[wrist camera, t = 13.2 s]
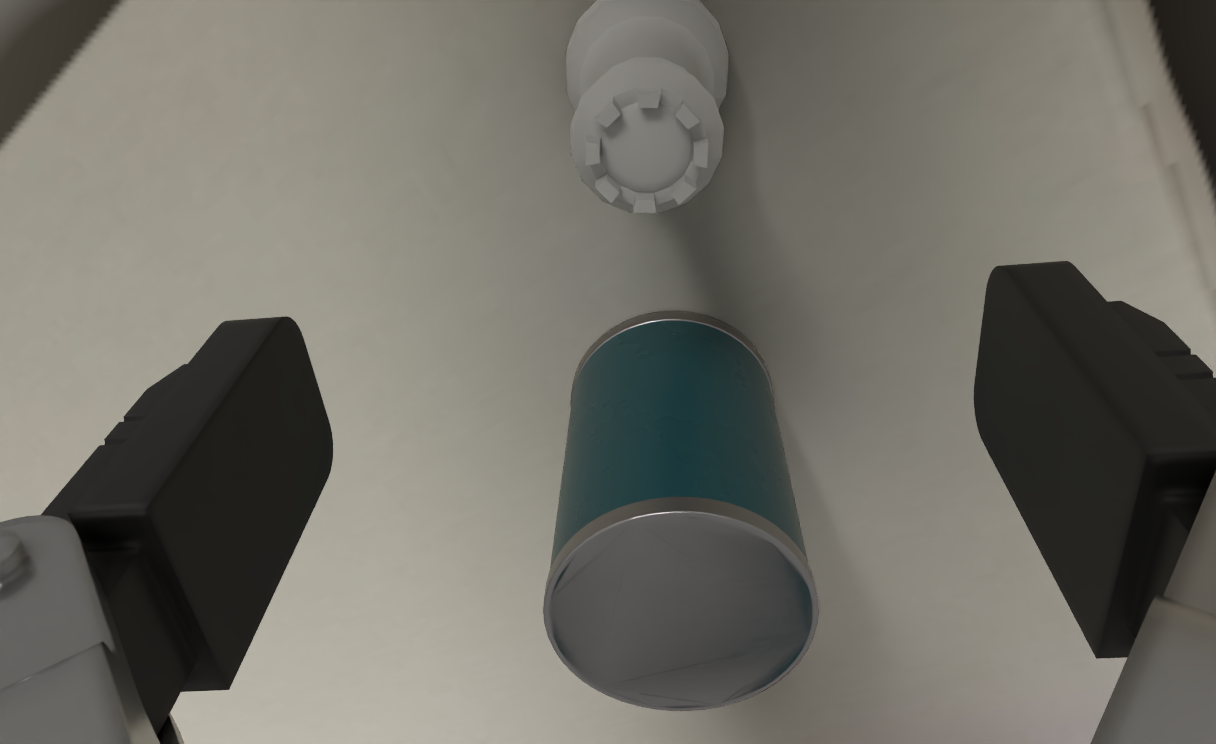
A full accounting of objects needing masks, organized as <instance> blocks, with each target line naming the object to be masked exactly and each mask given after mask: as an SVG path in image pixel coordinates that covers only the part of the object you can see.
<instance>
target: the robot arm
mask: <svg viewBox="0 0 1216 744" xmlns="http://www.w3.org/2000/svg"><path fill="white" fill-rule="evenodd" d="M1190 350H1191V349H1190V348H1189V347H1188V346H1187V345H1186V344H1185V343H1184V342H1183V341H1182V340H1181V339H1180V338H1179V337H1178V336H1177V335H1176V334H1175V333H1174V332H1173V331H1172V330H1171V329H1170V328H1169V327H1168V326H1167V325H1166V324H1165V323H1164V322H1162V321H1160V320H1158V319H1156V318H1154V317H1152V316H1150V315H1148V314H1146V313H1144V312H1142V311H1140V310H1138V309H1136V308H1134V307H1132V306H1130V305H1128V304H1126V303H1125V302H1123V301H1112V302H1107V301H1106V300H1105V299H1104V298H1103V297H1102V295H1101V294H1100V293H1099V292H1098V291H1097V290H1096V289H1095V288H1094V287H1093V286H1092V285H1091V283H1090V282H1089V281H1088V280H1087V279H1086V278H1085V277H1084V276H1083V275H1082V274H1081V273H1080V271H1079V270H1078V269H1077V268H1076V267H1075V266H1074V265H1073V264H1072V263H1070V262H1068V261H1060V262H1046V263H1032V264H1018V265H1005V266H997V267H995V268H994V269H993V270H992V272H991V274H990V277H989V279H988V283H987V288H986V296H985V304H984V312H983V320H982V328H981V336H980V344H979V352H978V360H977V368H976V376H975V384H974V408H975V416H976V422H977V426H978V430H979V433H980V436H981V439H982V441H983V443H984V445H985V447H986V449H987V451H988V453H989V455H990V456H991V458H992V460H993V462H994V464H995V466H996V468H997V470H998V472H999V474H1000V476H1001V477H1002V479H1003V481H1004V483H1005V485H1006V487H1007V489H1008V491H1009V493H1010V495H1011V496H1012V498H1013V500H1014V502H1015V504H1016V506H1017V508H1018V510H1019V512H1020V514H1021V516H1022V517H1023V519H1024V521H1025V523H1026V525H1027V527H1028V529H1029V531H1030V533H1031V535H1032V537H1033V538H1034V540H1035V542H1036V544H1037V546H1038V548H1039V550H1040V552H1041V554H1042V556H1043V558H1044V559H1045V561H1046V563H1047V565H1048V567H1049V569H1050V571H1051V573H1052V575H1053V577H1054V579H1055V580H1056V582H1057V584H1058V586H1059V588H1060V590H1061V592H1062V594H1063V596H1064V598H1065V600H1066V601H1067V603H1068V605H1069V607H1070V609H1071V611H1072V613H1073V615H1074V617H1075V619H1076V621H1077V622H1078V624H1079V626H1080V628H1081V630H1082V632H1083V634H1084V636H1085V638H1086V640H1087V642H1088V643H1089V645H1090V647H1091V649H1092V651H1093V653H1094V655H1095V657H1096V658H1120V657H1128V658H1127V660H1126V663H1125V665H1124V667H1123V670H1122V672H1121V674H1120V677H1119V679H1118V681H1117V684H1116V686H1115V688H1114V691H1113V693H1112V695H1111V698H1110V700H1109V702H1108V705H1107V707H1106V709H1105V712H1104V714H1103V716H1102V718H1101V721H1100V723H1099V725H1098V728H1097V730H1096V732H1095V735H1094V737H1093V739H1092V742H1091V744H1216V378H1213V371H1212V370H1211V369H1210V368H1209V367H1208V366H1207V365H1206V364H1205V363H1204V362H1203V361H1202V360H1201V359H1200V358H1199V357H1198V356H1197V355H1191V353H1190ZM104 440H105V445H100V446H99V447H98V448H97V449H96V450H95V451H94V452H93V454H92V455H91V456H90V457H89V458H88V460H87V461H86V462H85V463H84V464H83V465H82V467H81V468H80V469H79V470H78V471H77V473H76V474H75V475H74V476H73V477H72V478H71V480H70V481H69V482H68V483H67V484H66V486H65V487H64V488H63V489H62V490H61V492H60V493H59V494H58V495H57V496H56V497H55V499H54V500H53V501H52V502H51V503H50V505H49V506H48V507H47V508H46V509H45V510H44V512H43V513H42V514H41V515H37V516H26V517H20V518H15V519H11V520H7V521H3V522H0V744H184V741H183V739H182V736H181V733H180V731H179V729H178V727H177V725H176V723H175V721H174V719H173V717H172V715H171V713H170V711H171V709H172V708H173V706H174V704H175V702H176V700H177V698H178V696H179V694H180V692H185V691H210V690H229V689H230V686H231V684H232V682H233V680H234V678H235V676H236V674H237V671H238V669H239V667H240V665H241V663H242V661H243V659H244V656H245V654H246V652H247V650H248V648H249V646H250V644H251V642H252V639H253V637H254V635H255V633H256V631H257V629H258V627H259V624H260V622H261V620H262V618H263V616H264V614H265V612H266V609H267V607H268V605H269V603H270V601H271V599H272V597H273V595H274V592H275V590H276V588H277V586H278V584H279V582H280V580H281V577H282V575H283V573H284V571H285V569H286V567H287V565H288V562H289V560H290V558H291V556H292V554H293V552H294V550H295V548H296V545H297V543H298V541H299V539H300V537H301V535H302V533H303V530H304V528H305V526H306V524H307V522H308V520H309V518H310V516H311V513H312V511H313V509H314V507H315V505H316V503H317V501H318V498H319V496H320V494H321V492H322V490H323V488H324V486H325V483H326V481H327V479H328V477H329V474H330V471H331V466H332V459H333V439H332V432H331V427H330V423H329V420H328V417H327V413H326V410H325V407H324V404H323V400H322V397H321V394H320V391H319V387H318V384H317V381H316V378H315V374H314V371H313V368H312V365H311V361H310V358H309V355H308V352H307V348H306V345H305V342H304V339H303V336H302V333H301V331H300V329H299V327H298V325H297V324H296V322H295V321H294V320H293V319H291V318H290V317H273V318H260V319H246V320H232V321H225V322H223V323H221V324H220V325H219V326H218V327H217V329H216V330H215V331H214V332H213V334H212V335H211V336H210V337H209V339H208V340H207V341H206V342H205V344H204V345H203V346H202V347H201V348H200V350H199V351H198V352H197V353H196V355H195V356H194V357H193V358H192V360H191V361H190V362H189V363H188V364H184V365H182V366H181V367H179V368H178V369H176V370H175V371H173V372H172V373H170V374H169V375H167V376H166V377H164V378H163V379H161V380H160V381H158V382H157V383H155V384H154V385H153V386H151V387H150V388H148V389H147V390H146V391H145V392H144V393H143V394H142V396H141V397H140V398H139V399H138V400H137V402H136V403H135V404H134V405H133V406H132V408H131V409H130V410H129V411H128V412H127V413H126V415H125V416H124V422H119V423H118V424H117V425H116V426H115V428H114V429H113V430H112V431H111V432H110V434H109V435H108V436H107V437H106V438H105V439H104Z"/></svg>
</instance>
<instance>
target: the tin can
mask: <svg viewBox="0 0 1216 744" xmlns="http://www.w3.org/2000/svg"><path fill="white" fill-rule="evenodd" d="M570 404H571V412H570V419H569V427H568V435H567V443H566V450H565V458H564V466H563V474H562V481H561V489H560V497H559V504H558V512H557V520H556V528H555V535H554V543H553V551H552V558H551V566H550V571H549V575H548V579H547V582H546V589H545V596H544V607H543V614H544V624H545V627H546V631H547V635H548V638H549V640H550V642H551V644H552V646H553V648H554V650H555V652H556V653H557V655H558V656H559V658H560V659H561V661H562V662H563V663H564V664H565V665H566V666H567V667H568V668H569V670H570V671H571V672H573V673H574V674H575V675H576V676H577V677H578V678H580V679H581V680H582V681H583V682H585V683H586V684H588V685H589V686H591V687H592V688H594V689H596V690H598V691H600V692H602V693H604V694H605V695H607V696H610V697H612V698H615V699H617V700H620V701H622V702H626V703H629V704H633V705H636V706H641V707H646V708H651V709H659V710H669V711H691V710H704V709H710V708H716V707H721V706H725V705H729V704H732V703H736V702H739V701H741V700H744V699H747V698H749V697H752V696H754V695H756V694H758V693H760V692H762V691H764V690H766V689H767V688H769V687H771V686H772V685H774V684H775V683H777V682H778V681H779V680H781V679H782V678H783V677H784V676H786V675H787V674H788V673H789V672H790V671H791V670H792V669H793V668H794V667H795V666H796V665H797V664H798V663H799V661H800V660H801V659H802V657H803V656H804V654H805V653H806V652H807V650H808V648H809V646H810V644H811V642H812V640H813V637H814V634H815V631H816V627H817V623H818V614H819V607H818V596H817V592H816V587H815V583H814V579H813V575H812V571H811V569H810V567H809V564H808V560H807V555H806V551H805V546H804V541H803V537H802V532H801V527H800V523H799V518H798V513H797V509H796V504H795V500H794V495H793V490H792V486H791V481H790V476H789V472H788V467H787V462H786V458H785V453H784V448H783V444H782V439H781V434H780V430H779V425H778V420H777V416H776V411H775V406H774V400H773V390H772V385H771V381H770V377H769V373H768V370H767V368H766V365H765V363H764V361H763V359H762V358H761V356H760V354H759V353H758V351H757V350H756V349H755V348H754V346H753V345H752V344H751V343H750V342H749V341H748V340H747V339H746V338H745V337H744V336H743V335H741V334H740V333H739V332H737V331H736V330H734V329H733V328H732V327H730V326H728V325H726V324H724V323H722V322H720V321H718V320H716V319H713V318H710V317H707V316H704V315H700V314H695V313H690V312H681V311H664V312H656V313H650V314H646V315H642V316H638V317H635V318H633V319H630V320H627V321H625V322H623V323H621V324H619V325H617V326H615V327H614V328H612V329H611V330H609V331H608V332H606V333H605V334H604V335H602V336H601V337H600V338H599V339H598V340H597V341H596V342H595V343H594V344H593V345H592V346H591V347H590V349H589V350H588V351H587V352H586V354H585V355H584V357H583V359H582V360H581V362H580V364H579V366H578V368H577V371H576V373H575V377H574V381H573V385H572V392H571V403H570Z"/></svg>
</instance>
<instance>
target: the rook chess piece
mask: <svg viewBox="0 0 1216 744" xmlns="http://www.w3.org/2000/svg"><path fill="white" fill-rule="evenodd" d="M728 57H729V53H728V50H727V47H726V44H725V41H724V38H723V35H722V32H721V29H720V25H719V22H718V21H717V20H716V19H715V18H714V16H713V15H712V14H711V13H710V12H709V11H708V10H707V8H706V7H705V6H704V5H703V4H702V3H701V2H700V0H596V1H595V3H594V4H593V5H592V6H591V7H590V8H589V9H588V10H587V11H586V12H585V13H584V14H583V15H582V16H581V17H580V18H579V19H578V21H577V24H576V26H575V29H574V31H573V34H572V37H571V39H570V42H569V44H568V47H567V49H566V90H567V94H568V96H569V99H570V101H571V103H572V106H573V108H574V110H575V114H574V117H573V119H572V122H571V124H570V137H571V156H572V158H573V161H574V163H575V165H576V168H577V170H578V172H579V175H580V177H581V179H582V181H583V182H584V183H585V184H586V185H587V186H588V187H589V188H590V189H591V190H592V191H593V192H594V193H595V194H596V195H597V196H598V197H599V198H600V199H601V200H602V201H603V202H606V203H608V204H610V205H613V206H615V207H618V208H620V209H622V210H625V211H627V212H630V213H661V212H664V211H666V210H669V209H672V208H675V207H677V206H680V205H683V204H686V203H687V202H688V201H689V200H691V199H692V198H693V197H694V196H695V195H696V194H697V193H699V192H700V191H701V190H702V189H703V188H704V187H705V186H706V185H708V184H709V182H710V180H711V178H712V176H713V174H714V172H715V170H716V168H717V166H718V164H719V162H720V160H721V158H722V148H723V134H724V126H723V123H722V120H721V117H720V114H719V111H718V110H719V108H720V106H721V104H722V102H723V100H724V98H725V96H726V90H727V76H728V62H729V61H728Z"/></svg>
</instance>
